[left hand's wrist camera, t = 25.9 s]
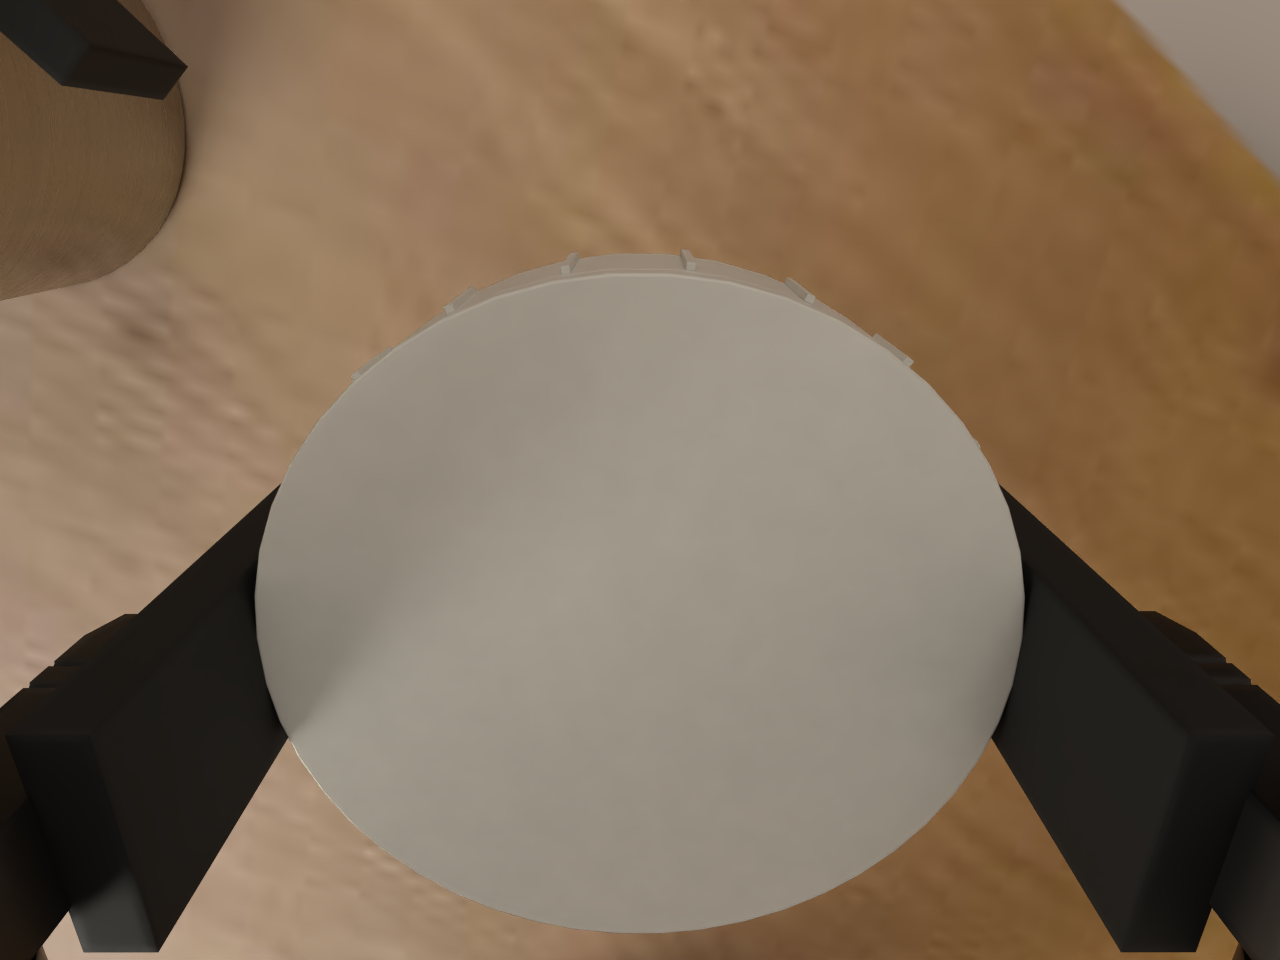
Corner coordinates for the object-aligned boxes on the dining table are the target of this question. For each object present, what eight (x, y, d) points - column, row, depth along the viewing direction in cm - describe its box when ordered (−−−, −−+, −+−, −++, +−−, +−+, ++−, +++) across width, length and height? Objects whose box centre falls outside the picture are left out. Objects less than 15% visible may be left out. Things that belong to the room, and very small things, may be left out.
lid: (825, 102, 10) (869, 89, 8) (1048, 710, 13) (1114, 801, 11) (169, 443, 11) (78, 497, 9) (516, 907, 15) (499, 1013, 13)
